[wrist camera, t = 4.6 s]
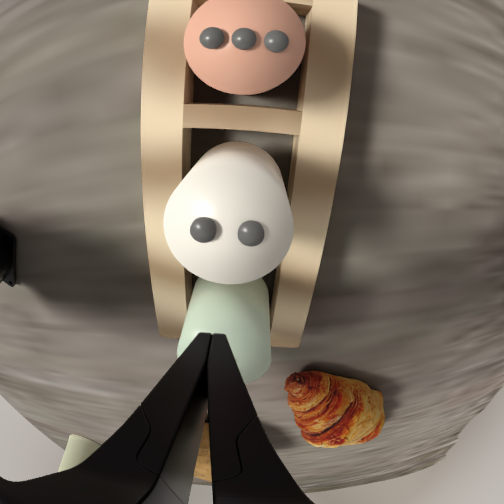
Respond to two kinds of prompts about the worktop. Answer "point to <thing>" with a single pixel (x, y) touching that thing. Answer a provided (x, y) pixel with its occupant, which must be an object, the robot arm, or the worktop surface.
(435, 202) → the worktop surface
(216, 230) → the key two
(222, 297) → the key one
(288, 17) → the key three
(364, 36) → the worktop surface
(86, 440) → the can
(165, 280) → the board
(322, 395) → the croissant
